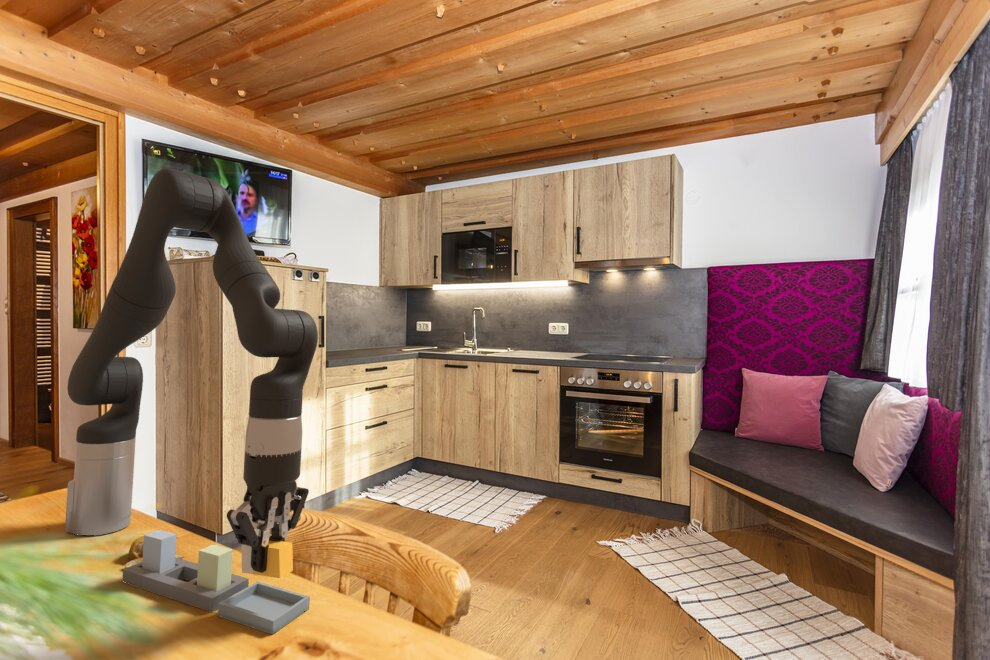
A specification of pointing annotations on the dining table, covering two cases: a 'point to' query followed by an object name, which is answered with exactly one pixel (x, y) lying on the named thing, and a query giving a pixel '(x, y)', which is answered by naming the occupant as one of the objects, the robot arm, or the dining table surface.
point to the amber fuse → (271, 559)
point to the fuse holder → (182, 584)
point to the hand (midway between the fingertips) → (267, 566)
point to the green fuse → (214, 567)
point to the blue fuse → (159, 551)
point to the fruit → (138, 552)
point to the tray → (263, 607)
